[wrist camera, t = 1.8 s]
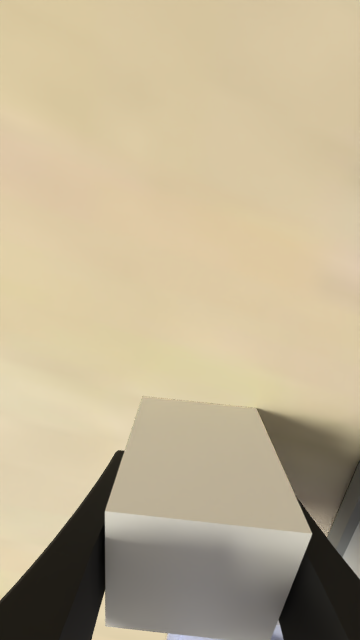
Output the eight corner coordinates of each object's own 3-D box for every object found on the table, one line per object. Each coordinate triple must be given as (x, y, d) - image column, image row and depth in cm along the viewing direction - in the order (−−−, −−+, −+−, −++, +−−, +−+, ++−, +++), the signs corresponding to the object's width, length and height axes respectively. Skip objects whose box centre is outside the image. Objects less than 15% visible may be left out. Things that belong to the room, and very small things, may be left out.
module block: (236, 491, 11) (268, 644, 7) (138, 480, 11) (105, 626, 7) (256, 408, 10) (312, 533, 5) (142, 396, 10) (104, 511, 5)
